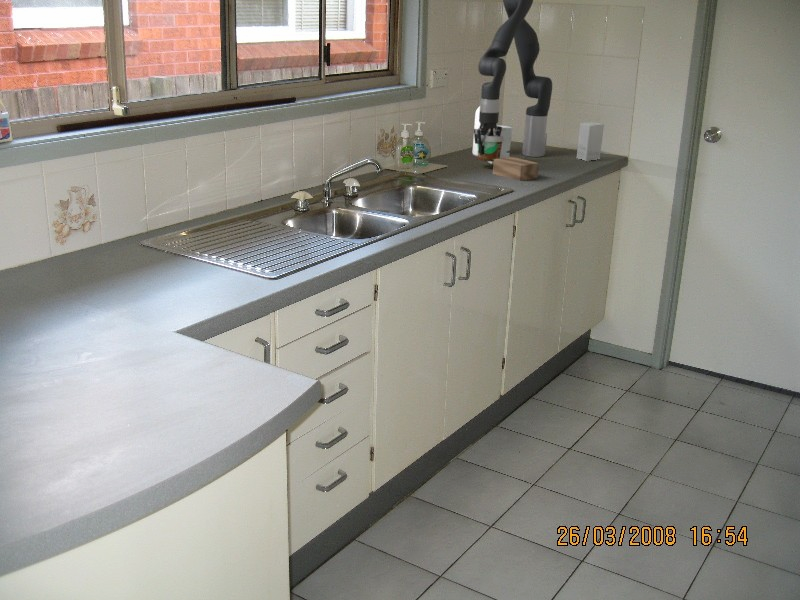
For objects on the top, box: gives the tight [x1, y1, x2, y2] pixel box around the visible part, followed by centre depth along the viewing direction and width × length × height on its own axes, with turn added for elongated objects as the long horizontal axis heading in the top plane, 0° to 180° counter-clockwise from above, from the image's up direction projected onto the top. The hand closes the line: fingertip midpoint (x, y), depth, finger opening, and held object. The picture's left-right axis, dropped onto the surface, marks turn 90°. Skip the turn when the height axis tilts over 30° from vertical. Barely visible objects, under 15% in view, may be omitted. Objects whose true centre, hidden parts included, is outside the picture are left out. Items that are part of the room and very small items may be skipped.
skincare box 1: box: [486, 124, 513, 165], centre depth 358 cm, size 8×6×15 cm
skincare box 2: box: [576, 121, 605, 162], centre depth 372 cm, size 8×7×16 cm
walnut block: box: [492, 156, 540, 182], centre depth 336 cm, size 10×14×6 cm
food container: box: [477, 135, 504, 163], centre depth 345 cm, size 12×6×10 cm, turn 47°
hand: (486, 153), depth 346 cm, fingers closed on food container, 5 cm apart
